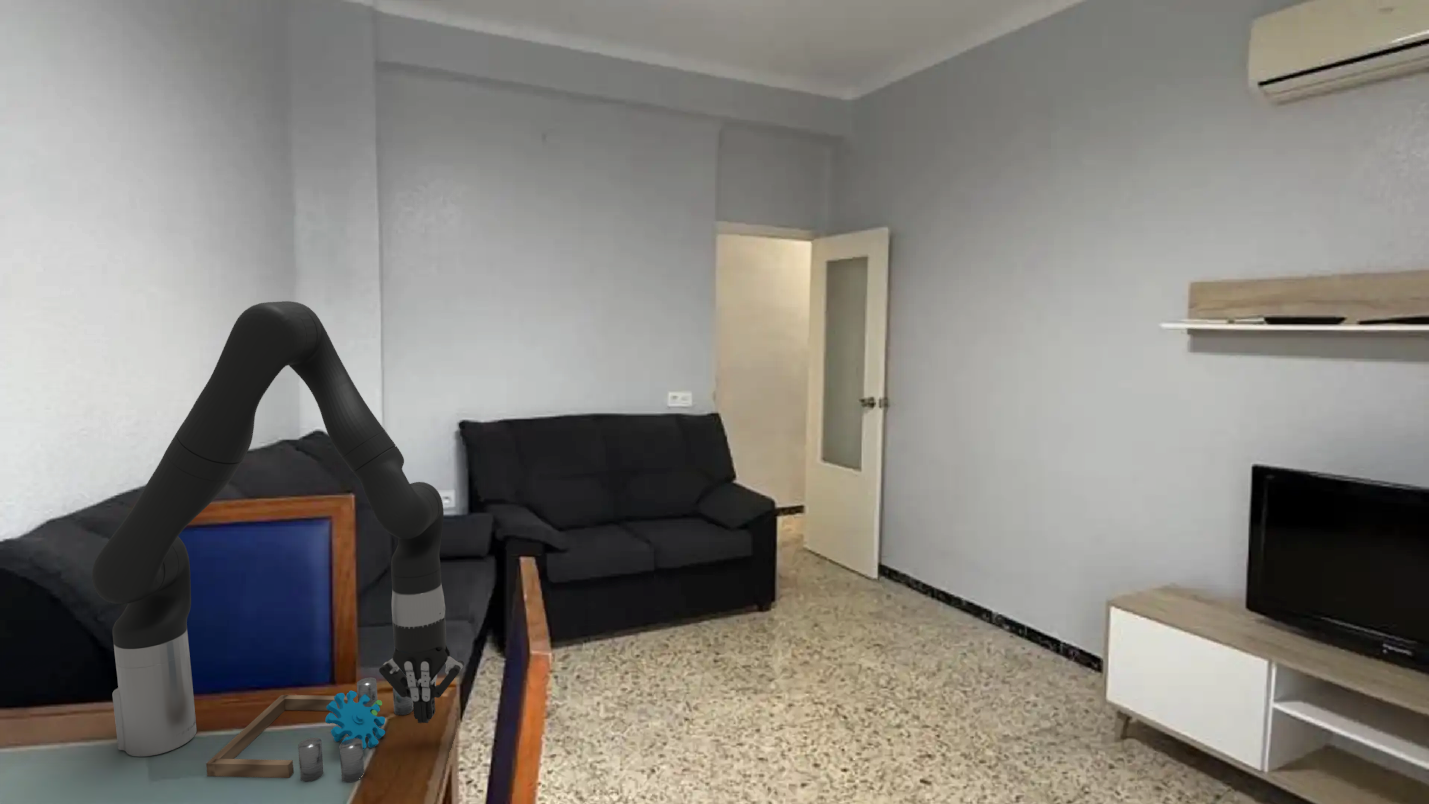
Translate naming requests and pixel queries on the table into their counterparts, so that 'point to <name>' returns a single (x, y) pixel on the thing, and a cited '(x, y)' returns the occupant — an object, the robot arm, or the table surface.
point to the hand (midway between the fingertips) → (425, 720)
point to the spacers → (350, 748)
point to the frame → (225, 757)
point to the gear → (355, 719)
